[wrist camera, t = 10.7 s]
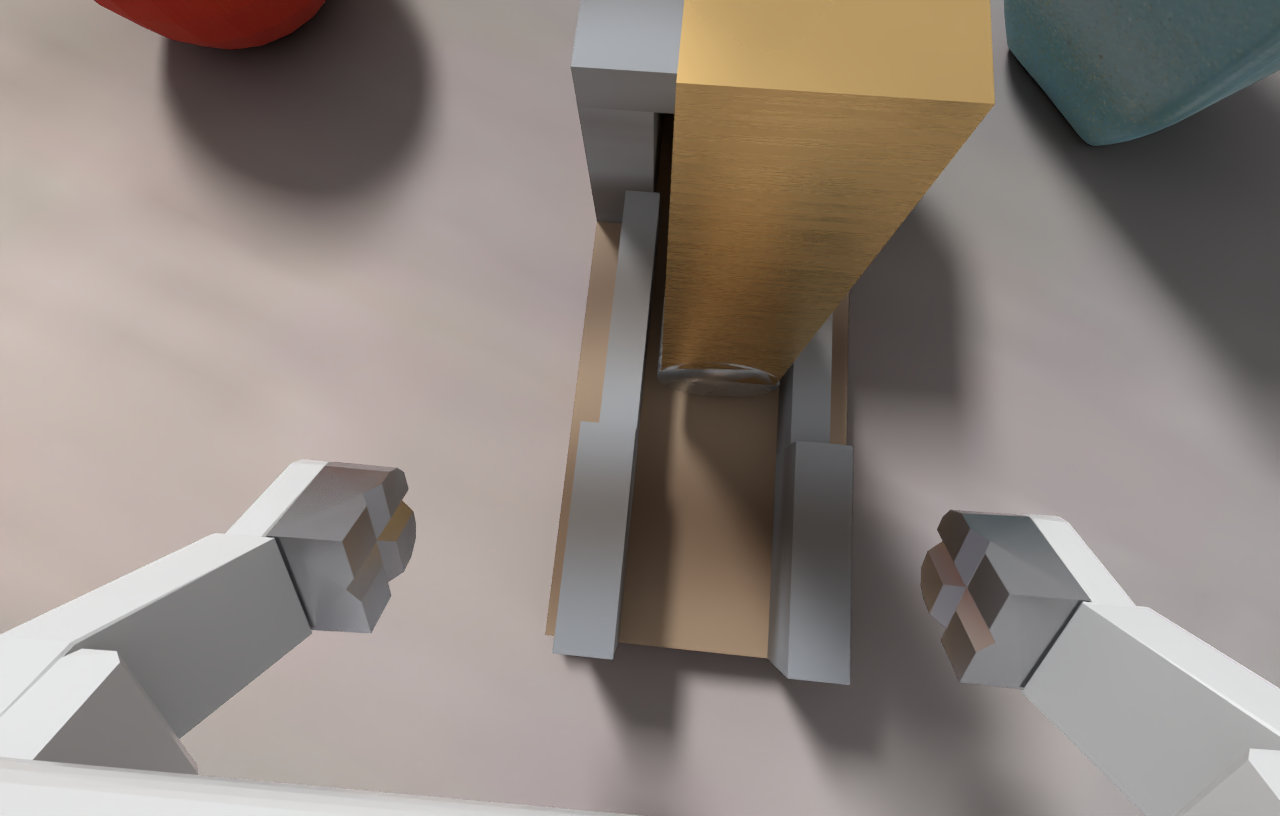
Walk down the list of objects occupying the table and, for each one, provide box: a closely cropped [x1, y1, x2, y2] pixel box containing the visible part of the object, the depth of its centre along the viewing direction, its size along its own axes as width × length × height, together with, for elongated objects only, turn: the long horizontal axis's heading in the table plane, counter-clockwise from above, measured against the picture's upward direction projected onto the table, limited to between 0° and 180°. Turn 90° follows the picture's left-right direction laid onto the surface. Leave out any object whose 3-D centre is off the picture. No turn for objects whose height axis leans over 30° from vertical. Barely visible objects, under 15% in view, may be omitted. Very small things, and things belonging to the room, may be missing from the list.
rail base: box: [545, 0, 853, 685], centre depth 15 cm, size 18×8×7 cm, turn 175°
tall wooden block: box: [657, 0, 995, 397], centre depth 12 cm, size 10×3×12 cm, turn 174°
